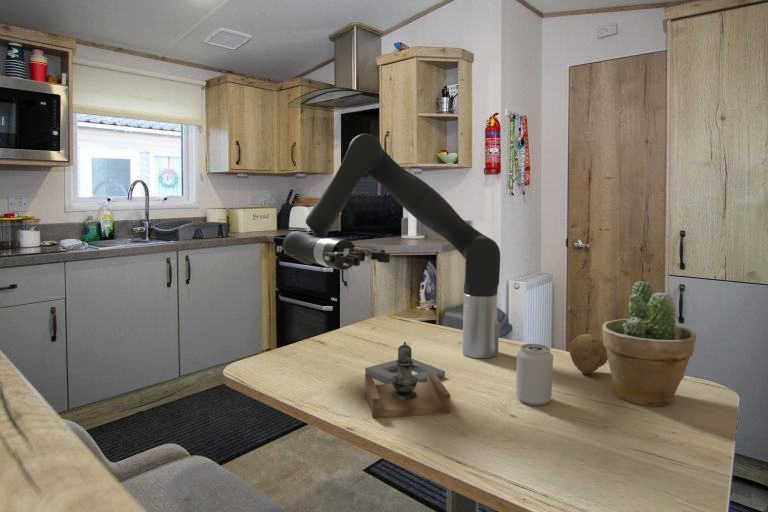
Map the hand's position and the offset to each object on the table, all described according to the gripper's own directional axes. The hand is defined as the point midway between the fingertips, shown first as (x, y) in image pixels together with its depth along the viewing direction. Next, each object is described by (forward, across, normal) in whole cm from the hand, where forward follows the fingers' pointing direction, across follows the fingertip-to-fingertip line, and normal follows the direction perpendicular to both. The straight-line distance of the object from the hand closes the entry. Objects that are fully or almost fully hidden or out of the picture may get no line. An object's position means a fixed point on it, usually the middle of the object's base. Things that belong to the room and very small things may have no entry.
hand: (374, 259), depth 116 cm
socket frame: (-1, +10, +30) cm, 32 cm away
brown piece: (+11, 0, +30) cm, 32 cm away
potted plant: (+42, +43, +30) cm, 67 cm away
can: (+28, +23, +30) cm, 47 cm away
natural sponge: (+26, +48, +30) cm, 62 cm away
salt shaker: (+11, 0, +29) cm, 31 cm away
